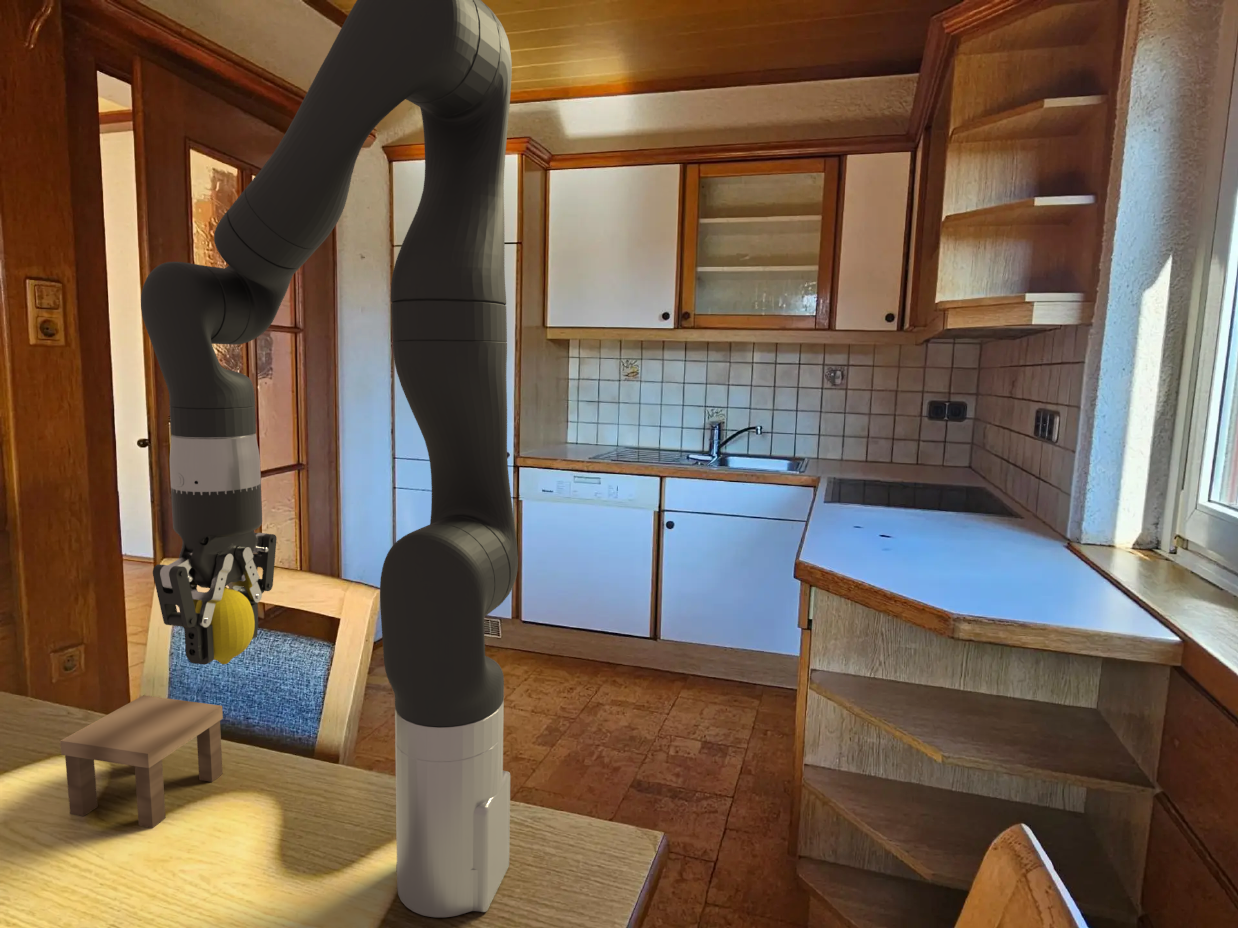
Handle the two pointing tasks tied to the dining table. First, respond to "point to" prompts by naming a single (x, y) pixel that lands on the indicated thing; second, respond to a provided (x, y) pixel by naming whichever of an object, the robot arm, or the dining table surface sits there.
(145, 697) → the stool
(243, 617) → the lemon
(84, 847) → the dining table surface
